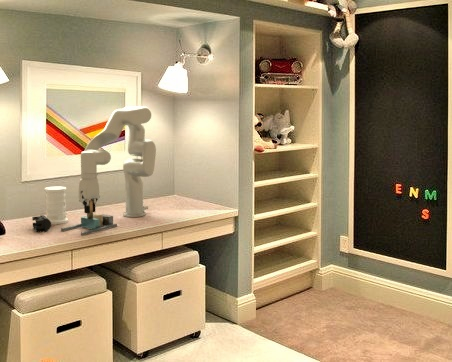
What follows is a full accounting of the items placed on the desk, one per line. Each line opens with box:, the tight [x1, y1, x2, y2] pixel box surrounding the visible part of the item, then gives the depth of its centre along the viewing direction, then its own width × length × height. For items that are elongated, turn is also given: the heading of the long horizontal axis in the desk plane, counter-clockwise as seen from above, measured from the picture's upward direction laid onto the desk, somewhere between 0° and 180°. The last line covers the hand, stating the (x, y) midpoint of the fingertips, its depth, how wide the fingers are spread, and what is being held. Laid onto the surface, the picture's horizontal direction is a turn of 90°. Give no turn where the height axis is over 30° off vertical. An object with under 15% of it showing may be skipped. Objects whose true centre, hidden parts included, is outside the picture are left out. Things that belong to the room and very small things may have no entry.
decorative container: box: [44, 185, 69, 225], centre depth 295 cm, size 12×12×18 cm
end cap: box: [31, 214, 52, 233], centre depth 278 cm, size 10×7×7 cm
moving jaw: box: [80, 199, 100, 230], centre depth 282 cm, size 3×10×14 cm, turn 57°
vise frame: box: [60, 213, 118, 236], centre depth 282 cm, size 23×16×5 cm
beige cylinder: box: [93, 213, 104, 227], centre depth 286 cm, size 5×5×6 cm
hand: (89, 212), depth 281 cm, fingers closed on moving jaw, 3 cm apart
